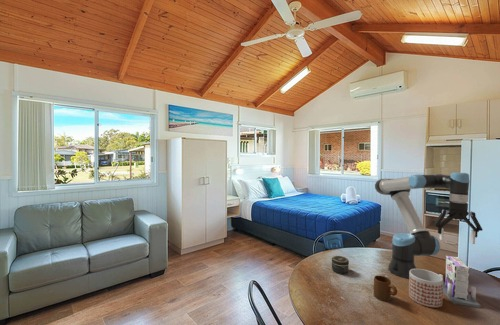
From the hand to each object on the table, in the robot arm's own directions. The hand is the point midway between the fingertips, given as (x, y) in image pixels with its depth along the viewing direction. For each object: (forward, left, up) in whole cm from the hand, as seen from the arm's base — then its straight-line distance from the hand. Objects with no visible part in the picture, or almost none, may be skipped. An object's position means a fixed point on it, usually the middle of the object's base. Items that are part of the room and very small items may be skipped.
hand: (456, 241), depth 129 cm
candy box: (-1, -4, -26) cm, 26 cm away
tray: (-1, -4, -27) cm, 27 cm away
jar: (-57, +5, -27) cm, 64 cm away
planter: (-18, -14, -27) cm, 36 cm away
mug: (-37, -20, -27) cm, 50 cm away
